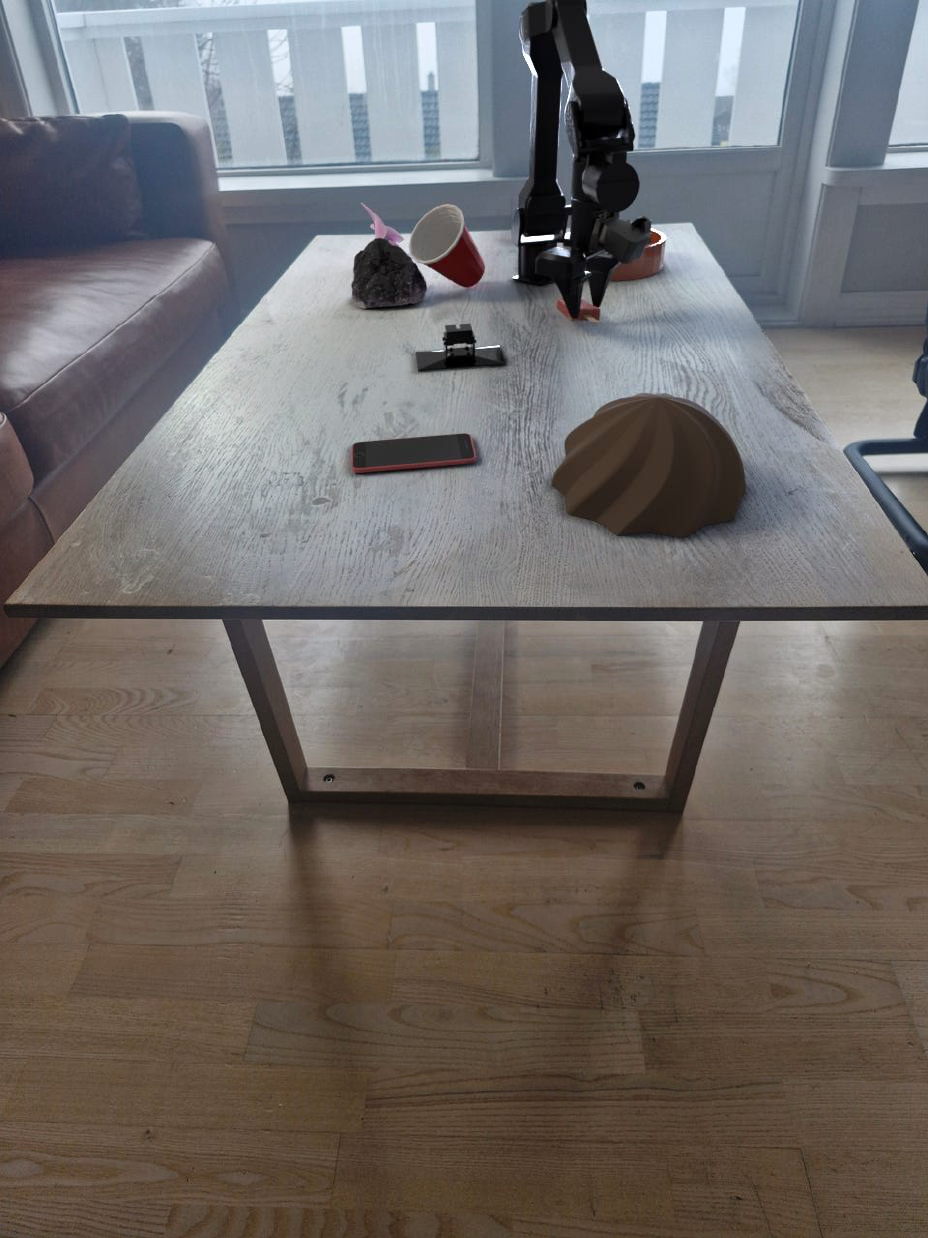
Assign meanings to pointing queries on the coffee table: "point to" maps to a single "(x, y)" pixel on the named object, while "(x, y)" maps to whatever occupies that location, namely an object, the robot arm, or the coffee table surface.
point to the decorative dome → (651, 467)
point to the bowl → (641, 260)
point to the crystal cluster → (386, 276)
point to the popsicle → (581, 311)
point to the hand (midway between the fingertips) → (585, 312)
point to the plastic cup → (447, 246)
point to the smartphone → (412, 453)
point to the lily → (384, 229)
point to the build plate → (459, 352)
